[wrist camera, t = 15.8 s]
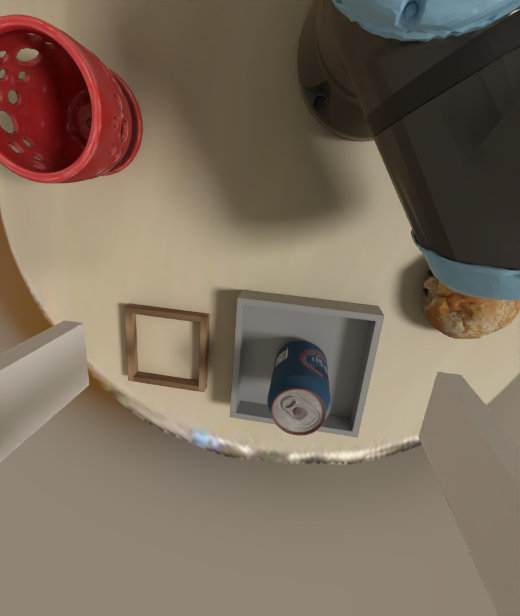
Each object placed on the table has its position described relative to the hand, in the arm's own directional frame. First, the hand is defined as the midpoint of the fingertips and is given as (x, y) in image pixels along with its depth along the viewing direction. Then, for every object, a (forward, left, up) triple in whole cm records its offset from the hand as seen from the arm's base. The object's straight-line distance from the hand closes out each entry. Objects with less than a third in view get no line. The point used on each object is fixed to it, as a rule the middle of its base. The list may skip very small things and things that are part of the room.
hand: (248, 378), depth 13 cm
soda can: (+15, +3, -31) cm, 35 cm away
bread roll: (+3, +21, -32) cm, 38 cm away
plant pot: (-12, -24, -32) cm, 42 cm away
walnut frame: (+16, -16, -32) cm, 39 cm away
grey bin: (+15, +3, -32) cm, 35 cm away
